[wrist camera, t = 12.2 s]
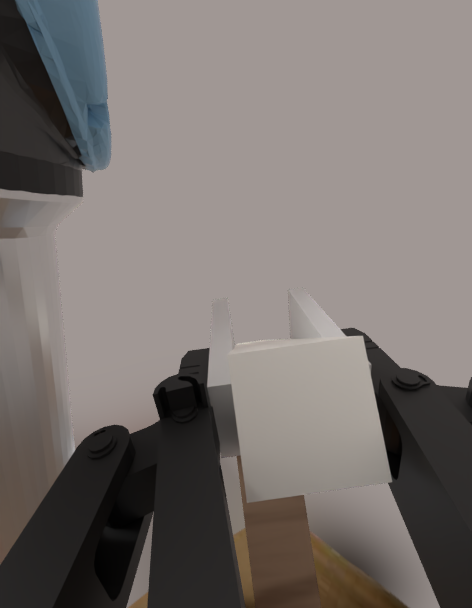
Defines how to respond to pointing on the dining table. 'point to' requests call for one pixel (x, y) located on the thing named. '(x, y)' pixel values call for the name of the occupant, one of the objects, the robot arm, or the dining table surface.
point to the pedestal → (280, 551)
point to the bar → (306, 417)
